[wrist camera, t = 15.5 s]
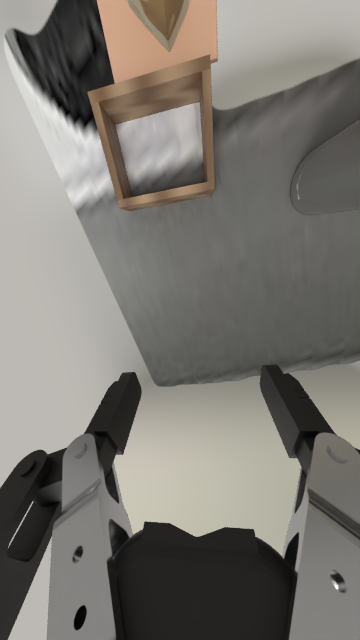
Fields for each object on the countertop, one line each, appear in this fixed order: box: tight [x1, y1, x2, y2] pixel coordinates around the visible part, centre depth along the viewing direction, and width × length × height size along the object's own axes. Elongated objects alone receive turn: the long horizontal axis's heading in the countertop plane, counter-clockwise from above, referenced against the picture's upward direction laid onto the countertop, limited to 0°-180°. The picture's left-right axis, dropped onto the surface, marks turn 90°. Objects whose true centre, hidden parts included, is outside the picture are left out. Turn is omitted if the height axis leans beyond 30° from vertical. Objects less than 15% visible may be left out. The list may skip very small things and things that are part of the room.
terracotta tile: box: [97, 0, 218, 83], centre depth 20 cm, size 14×10×1 cm
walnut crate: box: [88, 54, 215, 211], centre depth 24 cm, size 15×12×5 cm
